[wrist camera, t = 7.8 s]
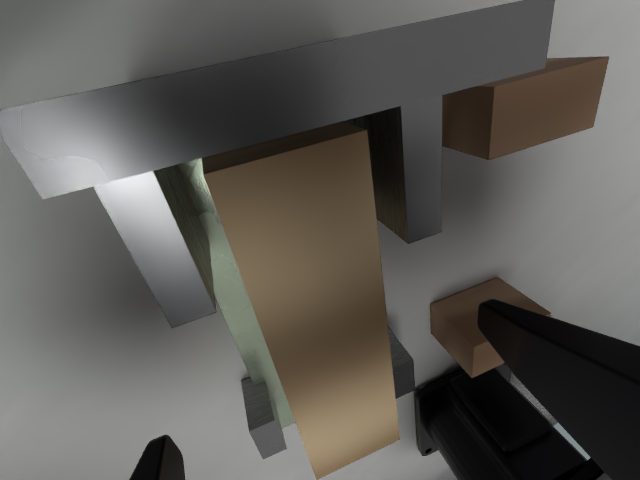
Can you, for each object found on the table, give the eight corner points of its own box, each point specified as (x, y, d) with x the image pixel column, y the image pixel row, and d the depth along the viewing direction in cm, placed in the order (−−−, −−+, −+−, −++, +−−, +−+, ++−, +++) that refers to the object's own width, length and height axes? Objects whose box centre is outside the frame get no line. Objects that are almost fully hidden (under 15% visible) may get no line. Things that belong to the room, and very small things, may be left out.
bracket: (390, 370, 18) (490, 522, 12) (262, 426, 16) (302, 631, 10) (353, 35, 10) (589, -14, 4) (105, 87, 9) (-86, 127, 3)
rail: (361, 371, 16) (399, 439, 13) (292, 400, 15) (317, 479, 12) (316, 112, 10) (366, 130, 7) (199, 141, 9) (203, 174, 6)
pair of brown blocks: (494, 306, 18) (543, 344, 16) (431, 333, 17) (471, 378, 15) (522, 59, 12) (609, 56, 10) (427, 83, 11) (494, 86, 9)
